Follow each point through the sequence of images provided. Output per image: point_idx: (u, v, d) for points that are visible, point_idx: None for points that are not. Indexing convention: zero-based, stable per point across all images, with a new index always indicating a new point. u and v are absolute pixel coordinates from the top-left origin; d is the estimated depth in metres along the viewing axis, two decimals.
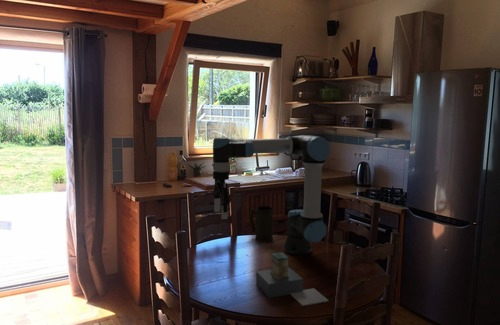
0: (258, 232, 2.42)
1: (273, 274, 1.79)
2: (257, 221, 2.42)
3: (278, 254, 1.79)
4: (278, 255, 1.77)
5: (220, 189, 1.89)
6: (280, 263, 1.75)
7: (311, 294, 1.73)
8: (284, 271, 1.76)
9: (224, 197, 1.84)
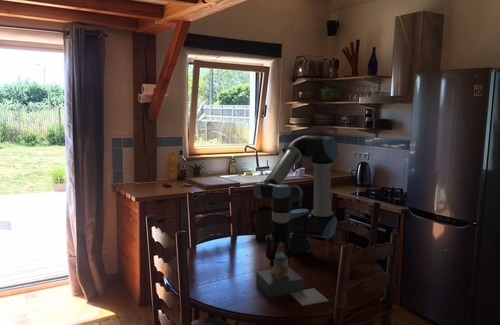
0: (258, 232, 2.42)
1: (273, 274, 1.79)
2: (257, 221, 2.42)
3: (278, 254, 1.79)
4: (278, 255, 1.77)
5: None
6: (280, 263, 1.75)
7: (311, 294, 1.73)
8: (284, 271, 1.76)
9: (266, 250, 1.76)
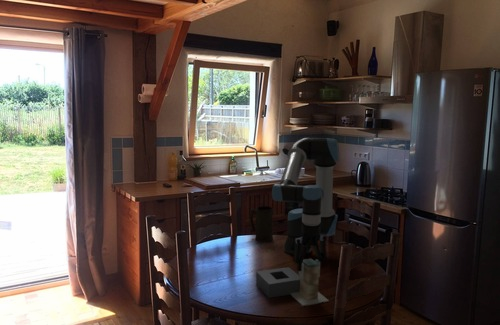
0: (258, 232, 2.42)
1: (302, 281, 1.70)
2: (257, 221, 2.42)
3: (307, 260, 1.71)
4: (308, 262, 1.69)
5: (305, 243, 1.69)
6: (310, 270, 1.66)
7: None
8: (314, 278, 1.67)
9: (294, 253, 1.67)
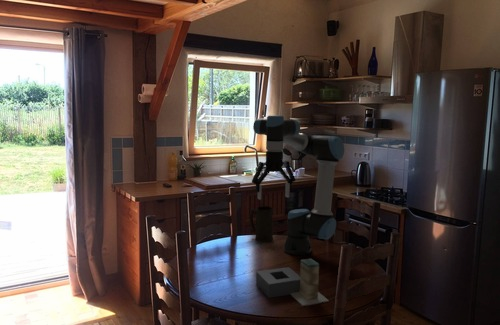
0: (258, 232, 2.42)
1: (302, 281, 1.70)
2: (257, 221, 2.42)
3: (307, 260, 1.71)
4: (308, 262, 1.69)
5: (268, 169, 1.80)
6: (310, 270, 1.66)
7: None
8: (314, 278, 1.67)
9: (254, 175, 1.78)
